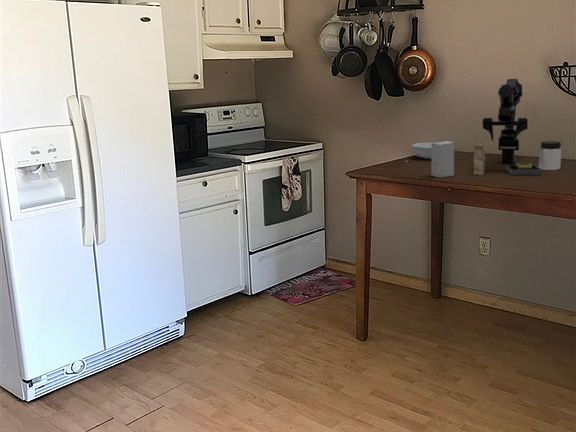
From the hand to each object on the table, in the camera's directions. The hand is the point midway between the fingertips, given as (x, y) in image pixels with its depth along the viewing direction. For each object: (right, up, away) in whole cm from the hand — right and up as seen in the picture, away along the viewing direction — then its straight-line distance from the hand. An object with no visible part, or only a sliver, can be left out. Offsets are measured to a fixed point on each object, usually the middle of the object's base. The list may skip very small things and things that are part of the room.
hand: (503, 140), depth 279 cm
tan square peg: (-10, -15, +2) cm, 18 cm away
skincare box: (-26, -16, +1) cm, 31 cm away
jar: (+23, -12, +8) cm, 27 cm away
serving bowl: (-20, -3, +49) cm, 53 cm away
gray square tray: (+9, -14, 0) cm, 17 cm away
